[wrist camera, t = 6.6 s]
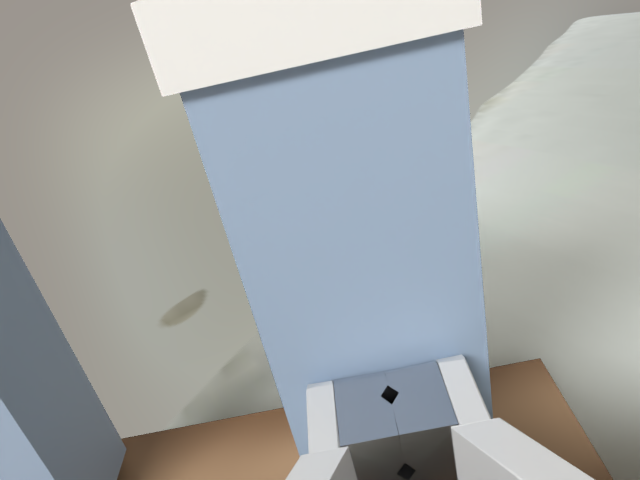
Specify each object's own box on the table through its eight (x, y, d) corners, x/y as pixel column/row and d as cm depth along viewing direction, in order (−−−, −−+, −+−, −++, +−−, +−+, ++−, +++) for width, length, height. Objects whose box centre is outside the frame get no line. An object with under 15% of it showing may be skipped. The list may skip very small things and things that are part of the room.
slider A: (512, 522, 12) (475, -78, 7) (321, 556, 13) (129, 3, 7) (468, 410, 15) (418, -73, 10) (315, 439, 16) (176, -16, 10)
